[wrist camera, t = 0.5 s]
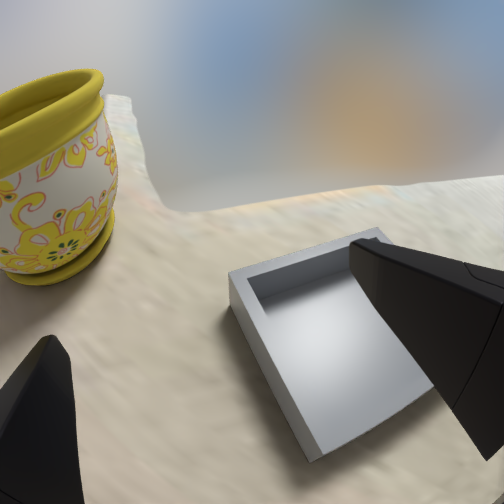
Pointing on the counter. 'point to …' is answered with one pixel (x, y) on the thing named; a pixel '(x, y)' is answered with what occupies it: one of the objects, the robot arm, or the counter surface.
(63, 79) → the flowerpot
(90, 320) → the counter surface
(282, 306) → the tray
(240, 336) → the counter surface
